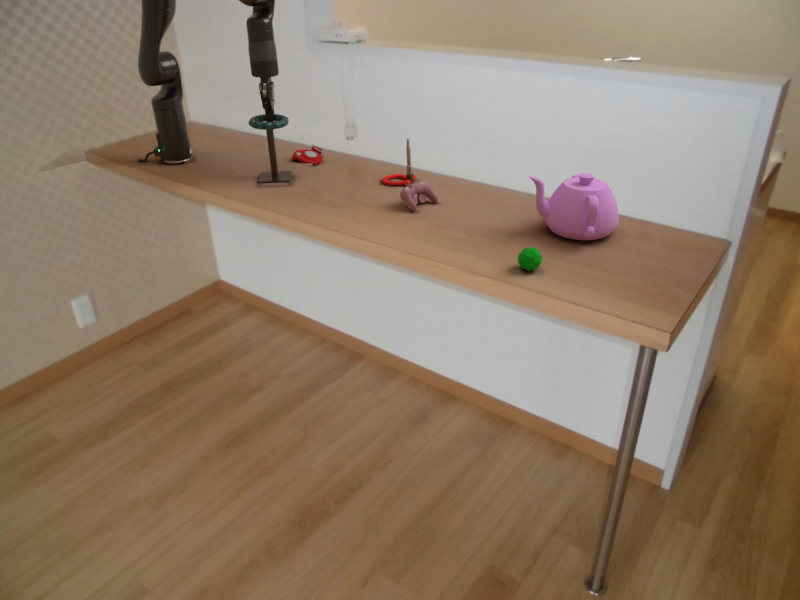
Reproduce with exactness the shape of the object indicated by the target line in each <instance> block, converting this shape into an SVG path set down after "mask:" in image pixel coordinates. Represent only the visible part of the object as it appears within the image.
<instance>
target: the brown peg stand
mask: <svg viewBox="0 0 800 600" xmlns="http://www.w3.org/2000/svg"><path fill="white" fill-rule="evenodd" d="M265 132H266V140H267V148H268V156H269V165H270V171H261V172H260V175H259V178H258V181H257V183H258V184H259V185H260V184H279V183H280V184H282V183H290V182H291V177H292V173H293V172H292V170H284V171H283V170H282V171H281V170H279V168H278V167H279V166H278V158H277V150H276V141H275V140H276V139H275V132H274V129H272V130H265Z"/></svg>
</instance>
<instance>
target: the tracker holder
mask: <svg viewBox="0 0 800 600" xmlns="http://www.w3.org/2000/svg"><path fill="white" fill-rule="evenodd" d="M322 154H324V151H323V149H322V147H320V146H317V145H315V144H311V149H298V150H295V151H294V152H293V153H292V157H291V161H293V162H294V161H295V160H297V161H299V162H301V163H303V164H312V166H319V165H321V164H322V162H323V160H324V157H323V155H322Z"/></svg>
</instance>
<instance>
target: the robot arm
mask: <svg viewBox="0 0 800 600" xmlns="http://www.w3.org/2000/svg"><path fill="white" fill-rule="evenodd" d="M238 1H239V2H240V3H241V4H243V5H245V6H247V7H251V8H252V12H251V13H252V14H251V15H250V16H249V17H247V19H246V21H245V23H246V24H245V26H246V33H247V42H248V45H247V47H248V48H247V50H248V56H249V57H248V58H249V65H250V73H251V76H252V77H254V78H259V79H260V81H259V83H258V90H259V95H260V100H261V104H262V109H263V110H264V114H265V116H266V122H275V121H274V115H273V114H275V102H276V100H275V98H276V97H275V95H276V94H275V82H274V81H272V78H273V77H277V76H278V75H279V74H280V72H279V71H280V70H279V62H278V52H277V46H276V42H275V34H274V33H275V32H274V25H273V22H274V15H275V6H276V0H238ZM140 3H141V21H140V22H141V24H140V27H141V28H140V38H139V49H138V57H137V70H138V74H139V77H140V79H141V81H142V83H143V84H144V85H146V86H148V87H158V86H160V89H159V91H158V92H157V93H156V94H155V95H154V96H152V98H151V100H150V104H151V108H152V113H153V118H154V123H155V127H156V128H155V129H156V133H155V137H156V142H157V146H155V147H154V149H153V151H150V152H148V153H147V154H146V155H145V158H144V159H143V158H138V159H137V160H138V161H137V162H141V163H146V162H147V161H148V159H149V156H151V155H154V158H155V157H157V158H158V157H159V158H160V163H161V164H167V165H182V164H185V163H186V162H187V161H189V160H191V159H192V158H193V156H194V155H193V148H192V147H191V141H190V137H189V131H188V125H187V119H186V114H185V109H184V108H185V107H184V103H183V100H184V89H183V81H182V73H181V69H180V64H179V62H178V59H177V58H176V56H175V55H174V54H173V53H172V52H170V51H168V50H167V51H165V50H163V51H161V45H162V42H163V39H164V36H165V35H166V33H167V31H168V29H170V26H171V25H172V23H173V20H174V18H175V16H176V11H177V0H141V2H140Z"/></svg>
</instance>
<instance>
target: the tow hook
mask: <svg viewBox="0 0 800 600" xmlns="http://www.w3.org/2000/svg"><path fill="white" fill-rule="evenodd" d="M405 148H406V149H405V150H406V152H405V153H406V165H405V166H406V167H405V168H406V174H403V173H402V174H401V173H397V174H388V175H386V176H383V177H382V178H381V182H382V184H384V185H387V186H404V187H407V186H408V185H410V184H412V183H414V181H415V180H416V179H417V176H416V175H415V174H414V173H413V165H412V150H411V149H412V148H411V143H410V138H406V146H405ZM392 179H402V180H396V181H394V180H392Z"/></svg>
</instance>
